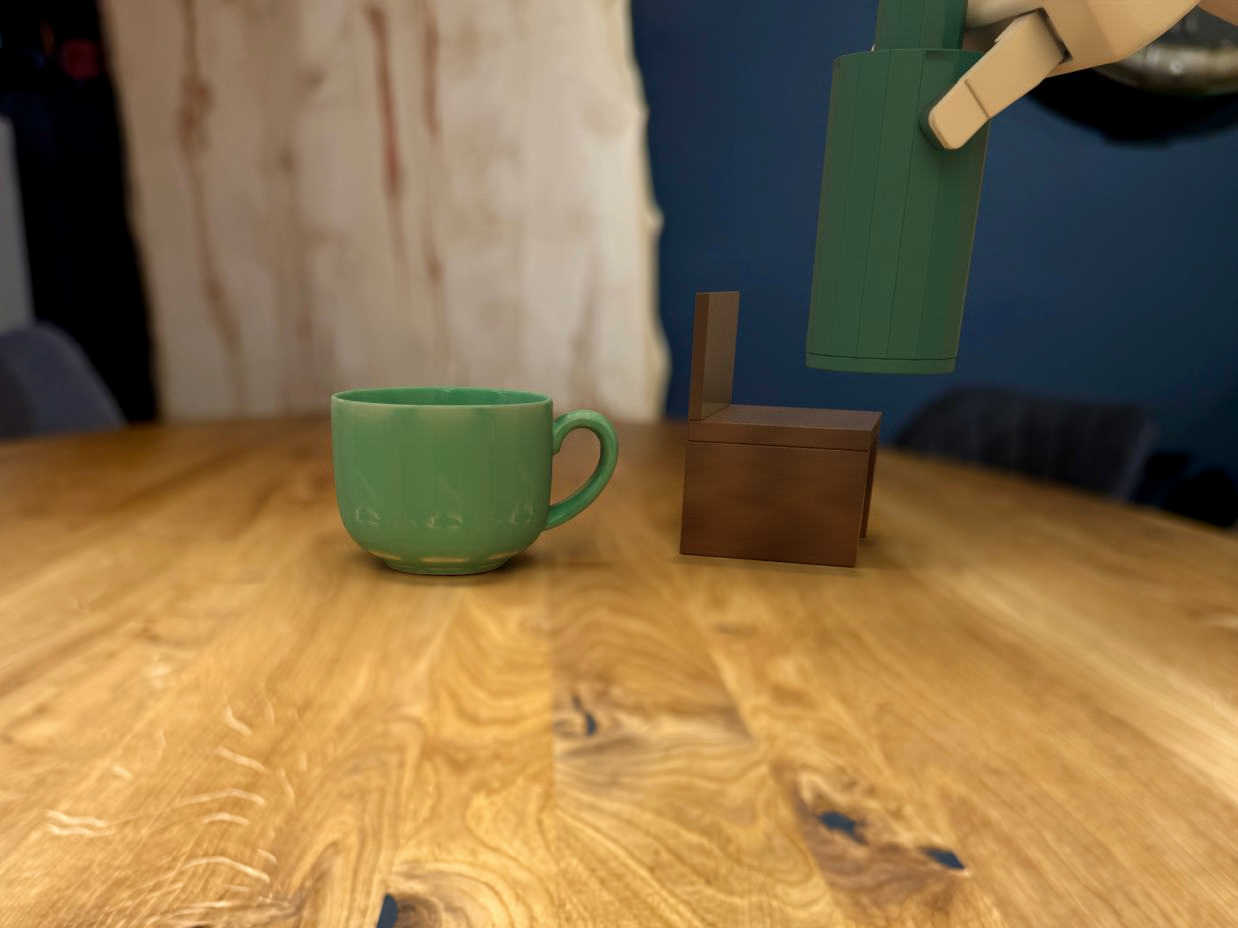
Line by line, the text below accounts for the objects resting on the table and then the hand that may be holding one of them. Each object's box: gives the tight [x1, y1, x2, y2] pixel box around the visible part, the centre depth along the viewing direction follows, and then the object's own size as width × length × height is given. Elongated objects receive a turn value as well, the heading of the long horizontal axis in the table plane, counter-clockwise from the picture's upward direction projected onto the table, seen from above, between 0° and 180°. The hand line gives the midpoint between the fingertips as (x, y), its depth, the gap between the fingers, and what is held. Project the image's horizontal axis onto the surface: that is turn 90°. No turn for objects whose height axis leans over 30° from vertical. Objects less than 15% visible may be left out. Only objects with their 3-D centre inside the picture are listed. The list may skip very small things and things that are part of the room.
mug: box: [330, 386, 620, 576], centre depth 76 cm, size 17×13×10 cm
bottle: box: [805, 0, 992, 375], centre depth 57 cm, size 7×7×16 cm
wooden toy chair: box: [679, 290, 883, 568], centre depth 84 cm, size 11×12×15 cm
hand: (892, 143), depth 56 cm, fingers closed on bottle, 7 cm apart
